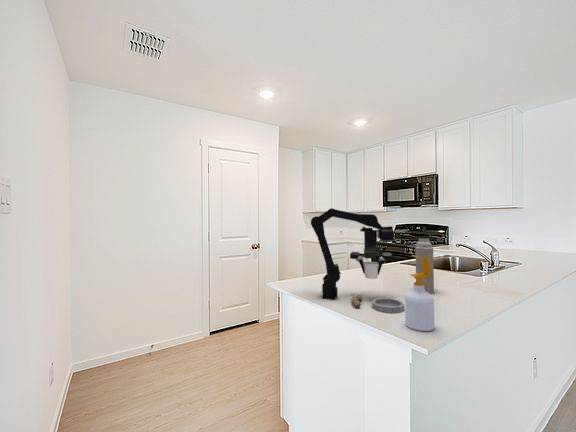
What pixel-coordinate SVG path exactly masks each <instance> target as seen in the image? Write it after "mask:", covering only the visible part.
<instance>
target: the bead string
mask: <svg viewBox="0 0 576 432" xmlns="http://www.w3.org/2000/svg"><path fill="white" fill-rule="evenodd" d="M362 301H363V296H362V295H361V294H357V295H355V296H353V297H352V299H351V305H353V306H354V308H356V309H357V308H360V307H361V305H362V304H361V302H362Z"/></svg>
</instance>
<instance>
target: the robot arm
mask: <svg viewBox="0 0 576 432" xmlns="http://www.w3.org/2000/svg"><path fill="white" fill-rule="evenodd" d="M331 218H338V219H342V220H348V221H352V222H356V223H358V224H361V225H363V226H362V228H360V230H359V231H360V232H363V235H364V241H363V243H364V248H363V253H360V251H351V252H350V255H349V256H350V257H349V258H350V259H351V260H355V261H356V262H358V263H359V265H360V267H361V270H362V273H363V275H365V272H364V262H365V261H364V259H366V260H368V259H372V260H375V259H378V263H379V265H378V276H379V275H380V273H381V269H382V266H383V264H384V262H385V263H386V262H387V261H393V253H391V252H383V253H381V247H378V240H379V241H381V242H389V241H390V242H393V241H395V231H394V229H393V226H382V225H381V224H380V222H379V220H378V217H377V216H376V215H375V214H369V213H368V214H367V213H366V214H364V213H362V214H361V213H354V212H349V211H345V210H340V209H335V208H333V207H331V208H329V209H328V210H327V211H325V212H324V213H322V214H320V215H319V216H317V215H316V216H313V217H312V218H311V219H310V225H311V227H312V229H313V232H314V233H315V235H316V237H317V240H318V244H319V246H320V250H321V252H322V253H321V254H322V256H323V259H324V262H325V270H326V274H325V275H324V276H323V277H322V281H323V283H322V284H321V286H322V287H321V289H322V290H321V292H322V293H321V295H322V296H321V299H324V300H325V299H327V300H336V299H337V298H338V296H339V295H338V294H339V292H338V287H337V283H338V282H339V281H340V279H341V274H342V273H341V271H340V268H339V263H334V261H333V257H332V253H331V250H330V248H329V245H328V240H327V237H326V235H325V226H324V223H325V222H327V221H329V219H331ZM365 226H366V227H365Z"/></svg>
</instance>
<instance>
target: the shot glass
mask: <svg viewBox="0 0 576 432" xmlns="http://www.w3.org/2000/svg"><path fill="white" fill-rule="evenodd" d="M378 267H379V261H364V272H365V274H364V278H366V279H369V280H370V279H371V280H374V279H378V276H379V275H378Z"/></svg>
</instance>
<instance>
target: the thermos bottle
mask: <svg viewBox="0 0 576 432" xmlns="http://www.w3.org/2000/svg"><path fill="white" fill-rule="evenodd" d="M432 246H433V245H432V243H431V241H430V236H427V235H420V236H418V242H416V246H415V250H414V251H415V256H418V257H422V258H425V259H428V260H429V261H430V276H429V277H423V279H422V283H424V290H425V291H426V292H428V293H429V294H431V295H433V294H434V293H435V279H434V278H435V276H434V273H435V271H434V247H432ZM420 273H422V260H421V259H420V258H417V257H415V274H420Z"/></svg>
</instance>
